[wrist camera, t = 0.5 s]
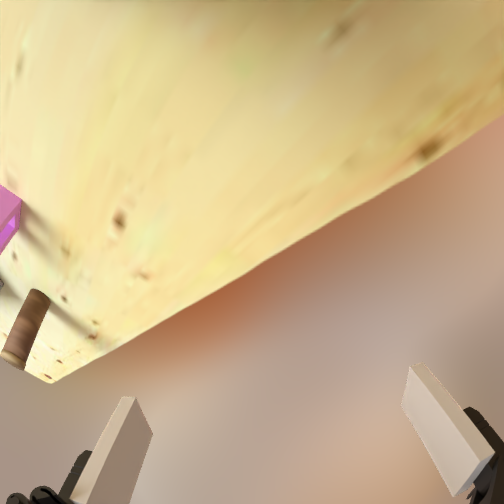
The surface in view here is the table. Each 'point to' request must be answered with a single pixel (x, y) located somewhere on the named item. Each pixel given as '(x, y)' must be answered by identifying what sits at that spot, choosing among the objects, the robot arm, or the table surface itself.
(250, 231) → the table surface
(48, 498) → the robot arm
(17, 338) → the walnut pin
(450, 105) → the table surface
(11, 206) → the bracket
